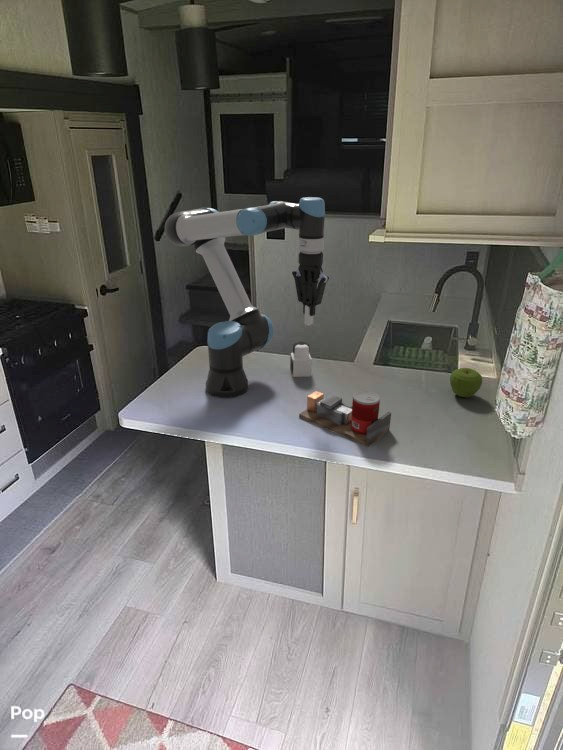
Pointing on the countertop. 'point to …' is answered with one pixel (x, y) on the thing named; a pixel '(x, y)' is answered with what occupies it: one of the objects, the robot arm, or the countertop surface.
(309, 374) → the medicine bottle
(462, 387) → the apple
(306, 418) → the bearing rail
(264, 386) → the countertop surface
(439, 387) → the countertop surface
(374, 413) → the canned food
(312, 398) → the shaft
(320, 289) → the robot arm
